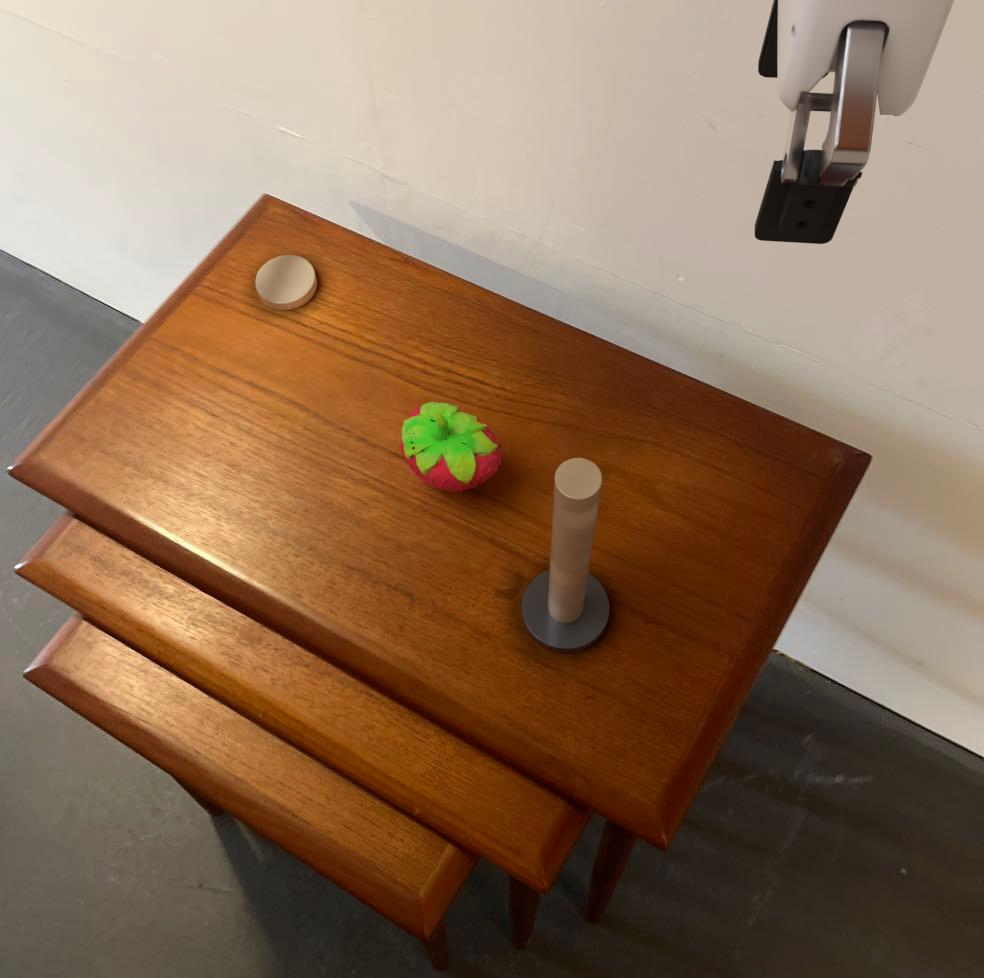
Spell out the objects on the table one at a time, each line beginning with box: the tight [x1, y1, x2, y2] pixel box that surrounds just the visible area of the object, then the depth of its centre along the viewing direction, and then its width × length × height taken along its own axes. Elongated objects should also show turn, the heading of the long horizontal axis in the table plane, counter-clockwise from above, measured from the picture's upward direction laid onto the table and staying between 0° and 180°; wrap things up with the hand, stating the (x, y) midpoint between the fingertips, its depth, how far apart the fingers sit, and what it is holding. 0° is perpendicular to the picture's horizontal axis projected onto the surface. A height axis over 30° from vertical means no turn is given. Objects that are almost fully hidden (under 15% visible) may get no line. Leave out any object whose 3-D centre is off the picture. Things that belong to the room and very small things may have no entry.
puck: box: [254, 254, 318, 312], centre depth 81 cm, size 5×5×1 cm
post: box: [521, 457, 611, 654], centre depth 58 cm, size 6×6×20 cm
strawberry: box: [399, 401, 503, 494], centre depth 68 cm, size 6×7×10 cm
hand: (791, 151), depth 44 cm, fingers open, 9 cm apart
